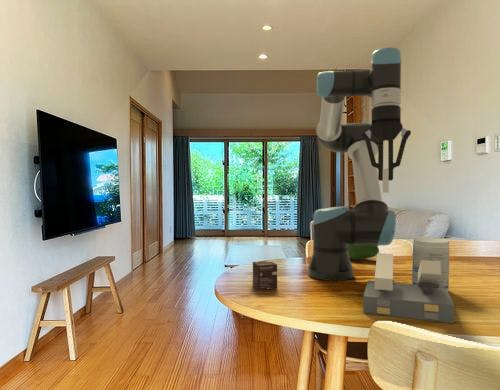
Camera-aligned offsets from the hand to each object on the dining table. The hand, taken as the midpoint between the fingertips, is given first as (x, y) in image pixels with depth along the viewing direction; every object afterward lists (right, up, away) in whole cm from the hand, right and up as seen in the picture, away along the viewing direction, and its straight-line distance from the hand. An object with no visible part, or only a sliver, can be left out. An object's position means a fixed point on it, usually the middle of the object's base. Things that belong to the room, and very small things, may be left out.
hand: (385, 192), depth 101 cm
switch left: (-3, -21, -8) cm, 23 cm away
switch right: (+6, -21, -13) cm, 25 cm away
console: (+1, -29, -10) cm, 30 cm away
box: (-33, -29, +9) cm, 45 cm away
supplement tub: (+15, -29, +5) cm, 33 cm away
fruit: (+9, -28, +52) cm, 60 cm away
